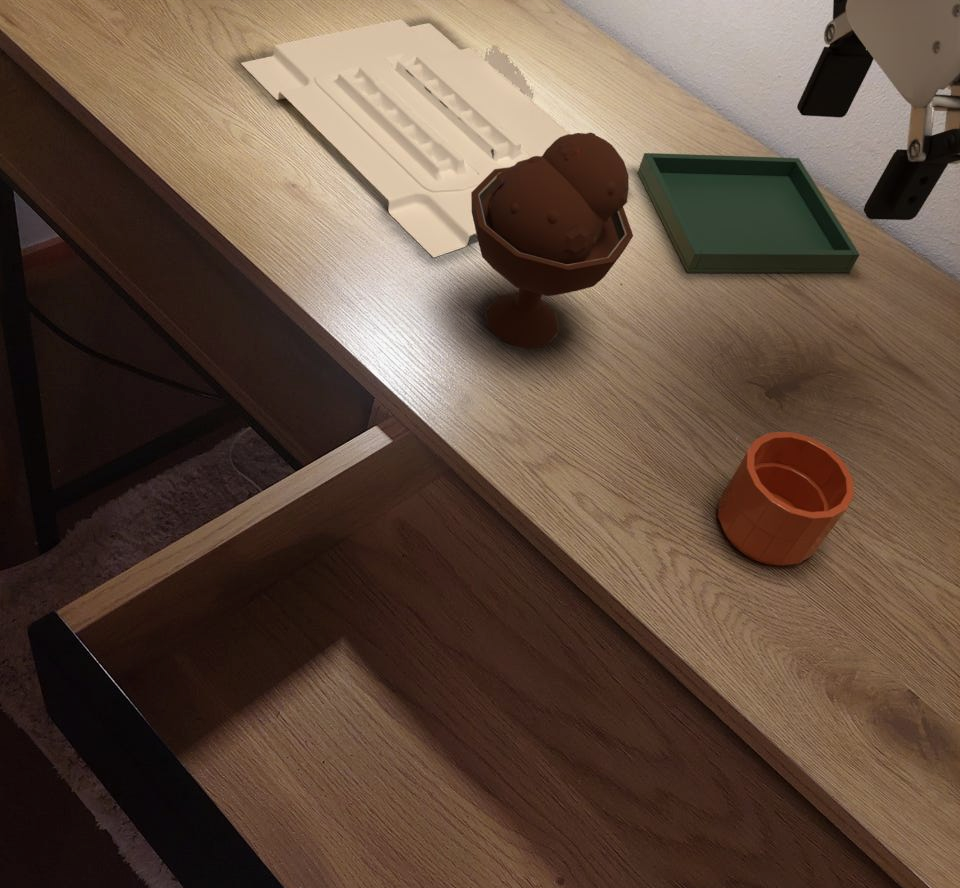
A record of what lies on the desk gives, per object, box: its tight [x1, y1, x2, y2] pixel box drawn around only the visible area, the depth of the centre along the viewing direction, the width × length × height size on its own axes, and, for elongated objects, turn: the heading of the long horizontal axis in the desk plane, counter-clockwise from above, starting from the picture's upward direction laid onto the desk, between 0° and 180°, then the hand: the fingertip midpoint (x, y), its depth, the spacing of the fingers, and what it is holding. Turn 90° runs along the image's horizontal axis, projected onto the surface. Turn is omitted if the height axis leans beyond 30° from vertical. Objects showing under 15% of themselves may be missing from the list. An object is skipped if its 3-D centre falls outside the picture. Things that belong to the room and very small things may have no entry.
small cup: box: [717, 431, 855, 566], centre depth 69 cm, size 7×7×6 cm
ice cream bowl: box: [471, 132, 634, 349], centre depth 73 cm, size 11×11×15 cm
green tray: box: [637, 152, 861, 274], centre depth 91 cm, size 15×13×2 cm
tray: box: [240, 18, 571, 258], centre depth 90 cm, size 20×28×4 cm
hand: (852, 163), depth 62 cm, fingers open, 9 cm apart
